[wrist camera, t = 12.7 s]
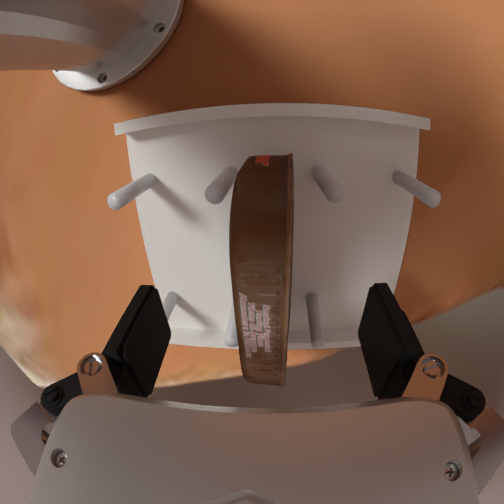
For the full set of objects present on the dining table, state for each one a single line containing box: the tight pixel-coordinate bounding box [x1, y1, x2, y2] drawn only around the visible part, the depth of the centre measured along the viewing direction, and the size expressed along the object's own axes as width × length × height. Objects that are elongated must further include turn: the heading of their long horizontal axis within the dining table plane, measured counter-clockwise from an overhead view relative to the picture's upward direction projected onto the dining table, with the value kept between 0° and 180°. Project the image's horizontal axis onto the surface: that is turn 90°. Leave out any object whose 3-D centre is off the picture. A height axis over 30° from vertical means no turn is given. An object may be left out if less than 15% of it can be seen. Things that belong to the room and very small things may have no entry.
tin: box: [229, 153, 294, 387], centre depth 16 cm, size 15×3×8 cm, turn 2°
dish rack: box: [107, 103, 441, 349], centre depth 18 cm, size 19×20×6 cm
